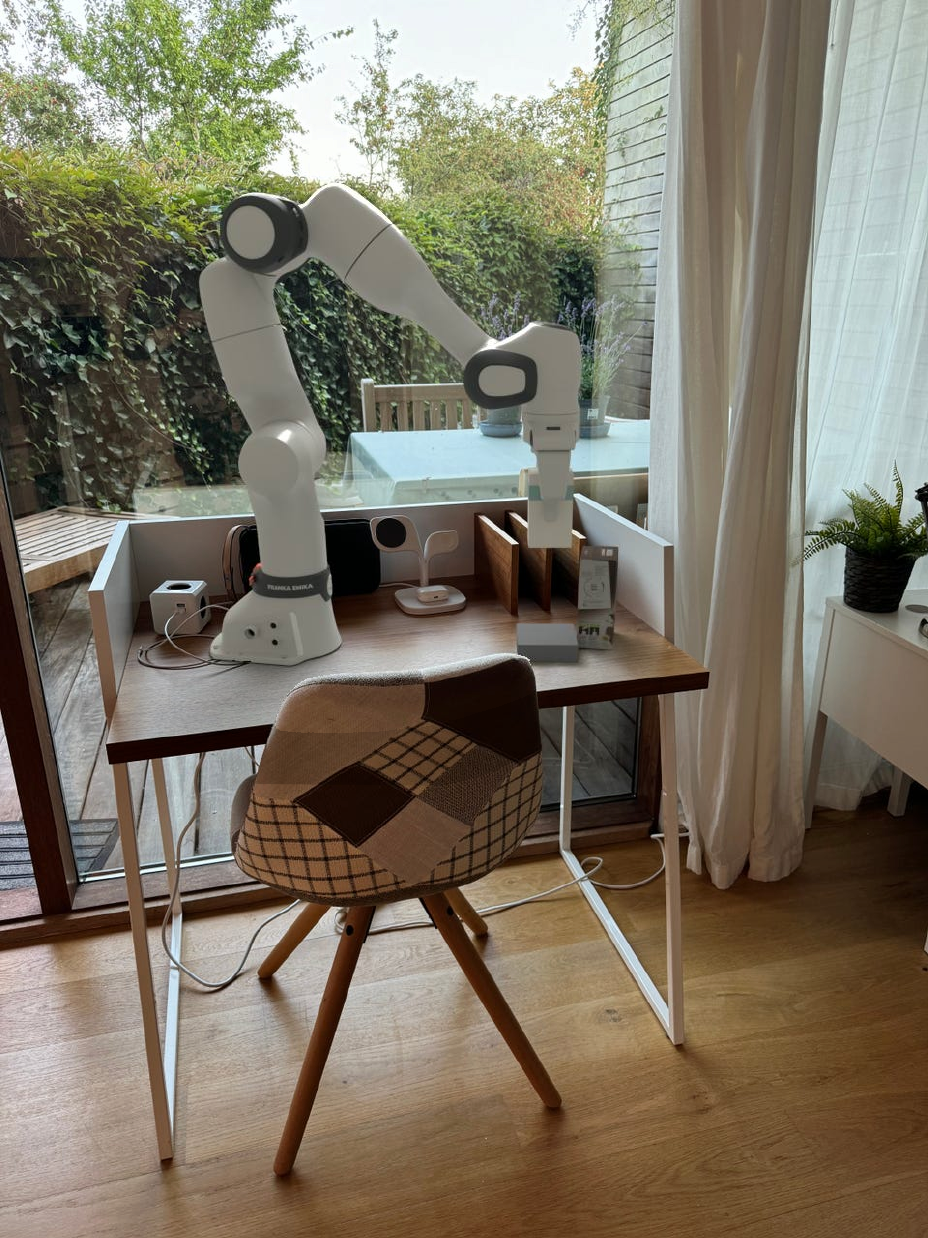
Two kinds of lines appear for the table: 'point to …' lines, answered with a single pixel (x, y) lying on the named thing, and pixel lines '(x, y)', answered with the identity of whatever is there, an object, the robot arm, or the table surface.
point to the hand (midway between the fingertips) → (549, 516)
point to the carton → (538, 528)
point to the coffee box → (597, 597)
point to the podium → (547, 642)
